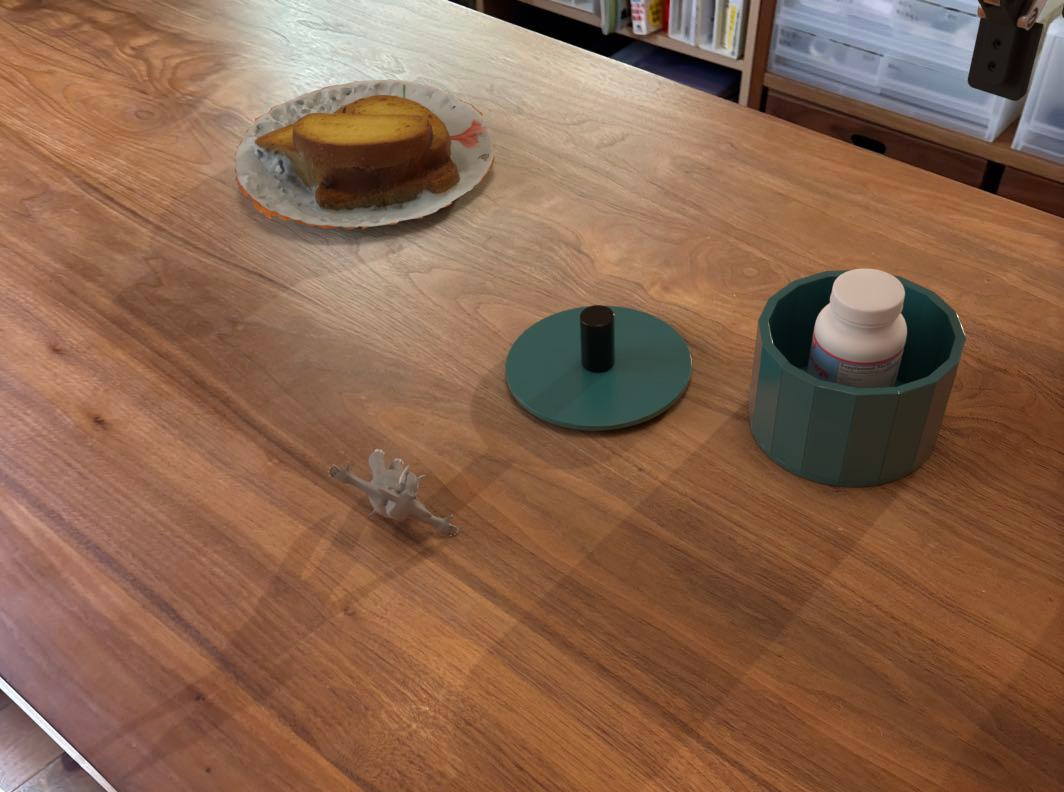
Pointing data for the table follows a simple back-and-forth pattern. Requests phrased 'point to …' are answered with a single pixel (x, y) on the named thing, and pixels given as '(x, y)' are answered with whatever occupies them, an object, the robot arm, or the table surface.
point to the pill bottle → (860, 331)
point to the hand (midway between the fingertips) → (1043, 56)
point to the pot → (850, 391)
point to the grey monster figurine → (393, 492)
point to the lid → (598, 368)
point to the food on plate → (363, 154)
